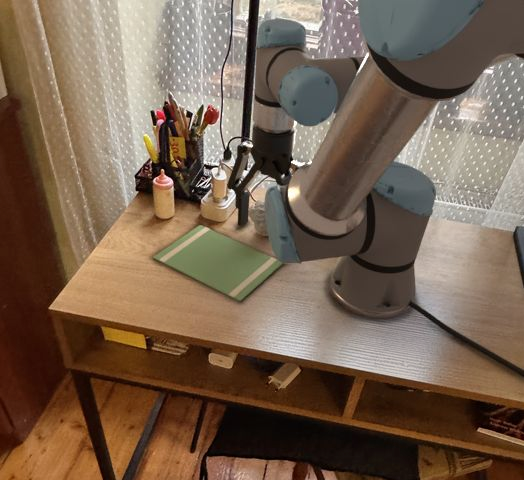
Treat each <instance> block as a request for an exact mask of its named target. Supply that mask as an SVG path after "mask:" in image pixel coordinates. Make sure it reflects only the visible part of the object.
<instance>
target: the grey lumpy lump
mask: <svg viewBox="0 0 524 480" xmlns="http://www.w3.org/2000/svg"><path fill="white" fill-rule="evenodd" d="M248 210H249V215H248V218H250V220H251V221H252V223H253V225H254V226H253V227H254V229H255V231H256V232H257V233H258V234H259V235H261V236H262V237H269V235H268V230H267V225H266V217H265V201H263V200H261V199H259V200H257V201H256V202H255V203H254V205H251V206H249V208H248Z"/></svg>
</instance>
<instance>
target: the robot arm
mask: <svg viewBox="0 0 524 480" xmlns="http://www.w3.org/2000/svg"><path fill="white" fill-rule="evenodd" d="M357 11H358V12H357V13H358V21H359V26H360V30H361V33H362V35H363V40H364V46H365V49H366V52H367V53H366V55H365V56H347V57H344V56H343V57H319V58H312V57H311V56H310V55H309V54H307V52H306V47H307V29H306V27H305V26H304V25H303V24H302V23H300V22H298V21H296V20H292V19H287V18H286V19H285V18H270V19H267V20H265V21H263V22H261V24H260V25H259V26H258V30H257V39H256V46H255V52H256V54H255V74H254V75H255V76H254V95H253V96H254V97H253V109H252V111H253V112H252V121H253V124H252V128H251V129H252V132H251V142H250V141H249V140H245V141H243V142H241V143H240V144H238V145H237V148H236V158H235V161H234V163H233V167H232V169H231V172H230V175H229V178H228V180H227V184H226V188H227V189H228V190H232V191H233V192H234V194H235V199H234V201H235V202H234V203H235V206H234V207H235V208H236V209H237V226H238V227H240V228H241V227H243V226H244V225H246V223H248V222H249V210H248V208H250V198H251V197H250V196H251V195H250V194H251V193H250V192H249V191H247V190H249V188H250V186H251V185H252V183H253V182H254V181H255V179H256V178H257V177H258V176H259V175H262V176H268V177H269V178H271V179H273V180H274V181H275V183H276V185H274V186H270V187H269V188H267V190H266V192H265V195H264V202H265V217H266V225H267V230H268V235H269V236H268V239H269V243H270V246H271V249H272V252H273V254H274V256H275V259H277V260H279V261H280V262H282V263H283V264H286V265H288V264H298V265H301V264H302V263H305V262H312V261H319V260H320V261H321V260H327V259H334V258H335V259H336V258H340V259H339V261H338V262H337V263H336V265H335V267H334V268H333V271H331V274H330V278H329V283H328V290H329V294H330V296H331V298H332V299H333V300H334V301H335V303H337V305H339V306H340V307H341V308H343V309H344V310H345V311H347V312H349V313H351V314H353V315H355V316H358V317H362V318H366V319H372V320H388V319H394V318H397V317H399V316H402V315H404V314H405V313H406V312H408V311H409V310H410V308H412V309H413V310H414V311H416V312H417V313H418V314H420V315H422V316H423V317H424V318H426V319H427V320H429V321H430V322H432V323H433V324H434V325H435V326H436V327H438V328H439V329H441V330H443V331H445V332H446V333H448V334H449V335H451V336H453V338H456V339H457V340H458V341H461V342H463V343H465V344H466V345H468V346H469V347H471V348H473V349H474V350H477V351H478V352H480V353H482V354H484V355H485V356H487V357H488V358H490V359H492V360H493V361H496V362H497V363H499V364H501V365H502V366H504V367H506V368H507V369H509V370H511V371H513V373H516V374H518V375H520V376H521V377H524V369H523V368H520V367H519V366H517V365H516V364H513V363H512V362H511V361H508V360H507V359H505V358H504V357H502V356H500V355H498V354H497V353H495V352H494V351H491V350H490V349H488V348H486V347H485V346H483V345H481V344H479V343H478V342H475V341H474V340H472V339H470V338H468V337H467V336H465V335H464V334H461V333H460V332H458V331H456V330H455V329H453V328H452V327H450V326H449V325H447V324H446V323H444V322H443V321H441V320H440V319H438V318H437V317H436V316H434V315H432V313H430V312H429V311H427V310H426V309H424V308H422V307H421V306H420V305H418V304H417V303H415V302H414V300H415V297H416V273H415V263H416V260H417V256H418V254H419V251H420V249H421V245H422V242H423V238H424V236H425V233H426V229H427V227H428V225H429V221H430V218H431V216H432V215H433V212H434V205H435V201H436V197H437V189H436V186H435V184H434V182H433V181H432V179H431V178H430V177H429V176H428V175H426V174H425V173H424V172H422V171H421V170H419V169H418V168H415V167H413V166H411V165H408V164H406V163H403V162H399V161H395V160H396V159H397V158H398V157H399V155H400V154H401V153H402V151H403V150H404V148H405V147H406V146H407V144H408V143H409V142H410V140H411V139H412V138H413V137H414V135H415V134H416V133H417V131H418V130H419V129H420V128H421V126H422V125H423V123H424V122H425V121H426V120H427V119H428V117H429V116H430V114H431V113H432V112H433V111H434V109H435V108H436V107H437V105H438V104H439V103H440V102H444V101H451V100H454V99H457V98H458V97H461V96H462V95H464V94H465V93H467V92H468V91H469V89H471V88H472V87H473V85H474V84H475V83H476V81H477V80H478V79H479V78H480V77H481V76H482V74H483V73H485V71H486V70H487V69H490V68H492V67H495V66H498V65H501V64H502V63H505V62H508V61H510V60H513V59H519V60H522V61H524V0H357ZM333 115H334V117H333V119H332V121H331V123H330V125H329V127H328V129H327V131H326V133H325V135H324V137H323V139H322V141H321V143H320V144H319V146H318V149H317V150H316V152H315V154H314V157H313V158H312V160H311V161H309V162H306V161H304V162H299V161H296V160H295V159H294V155H293V152H294V148H295V144H296V143H295V142H296V133H297V128H296V125H297V124H299V125H301V126H302V127H308V128H309V127H310V128H311V127H316V126H319V125H320V124H322V123H324V122H325V121H328V119H329V118H331V116H333ZM250 156H251V157H252V159H253V162H254V163H253V165H252V166H251V167H250V169H249V171H248V172H247V174H246V175H245V176H244V178H243V179H242V177H243V174H244V172H245V169H246V166H247V163H248V161H249V157H250ZM291 170H292V171H291Z"/></svg>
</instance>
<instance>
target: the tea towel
mask: <svg viewBox="0 0 524 480" xmlns="http://www.w3.org/2000/svg"><path fill="white" fill-rule="evenodd" d="M152 258H153V259H154V260H155V261H158V262H160V263H162V264H163V265H165V266H167V267H170V268H171V269H174V270H176V271H178V272H179V273H181V274H184V275H185V276H187V277H189V278H192V279H193V280H196V281H198V282H200V283H202V284H203V285H205V286H208V287H209V288H212V289H214V290H215V291H218V292H220V293H222V294H224V295H225V296H228V297H230V298H231V299H234V300H235V301H237V302H239V303H241V302H242V301H243V300H244V299H245V298H247V297H248V296H249V295H250V294H251V293H252V292H254V291H255V290H256V289H257V288H258V287H259V286H260V285H261V284H262V283H264V282H265V280H266V279H268V278H269V277H270V276H271V275H272V274H274V273H275V272H276V271H277V270H278V269H279V268H281V266H283V265H284V263H282V262H280V261H279V260H278V259H277V258H276V257H272V256H270V255H268V254H265V253H263V252H261V251H259V250H258V249H257V250H256V249H255V248H252V247H250V246H248V245H246V244H244V243H241V242H239V241H237V240H235V239H233V238H230V237H228V236H226V235H224V234H222V233H219V232H217V231H215V230H212V229H211V228H209V227H206V226H204V225H201V224H199V225H198V226H196V227H195V228H193V229H192V230H190V231H189V232H188V233H186V234H184V235H183V236H182V237H180V238H179V239H177V240H175V241H174V242H173V243H171V244H170V245H169V246H167V247H166V248H164V249H163V250H161V251H160V252H158V253H156V254H155V255H154V256H152Z"/></svg>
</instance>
